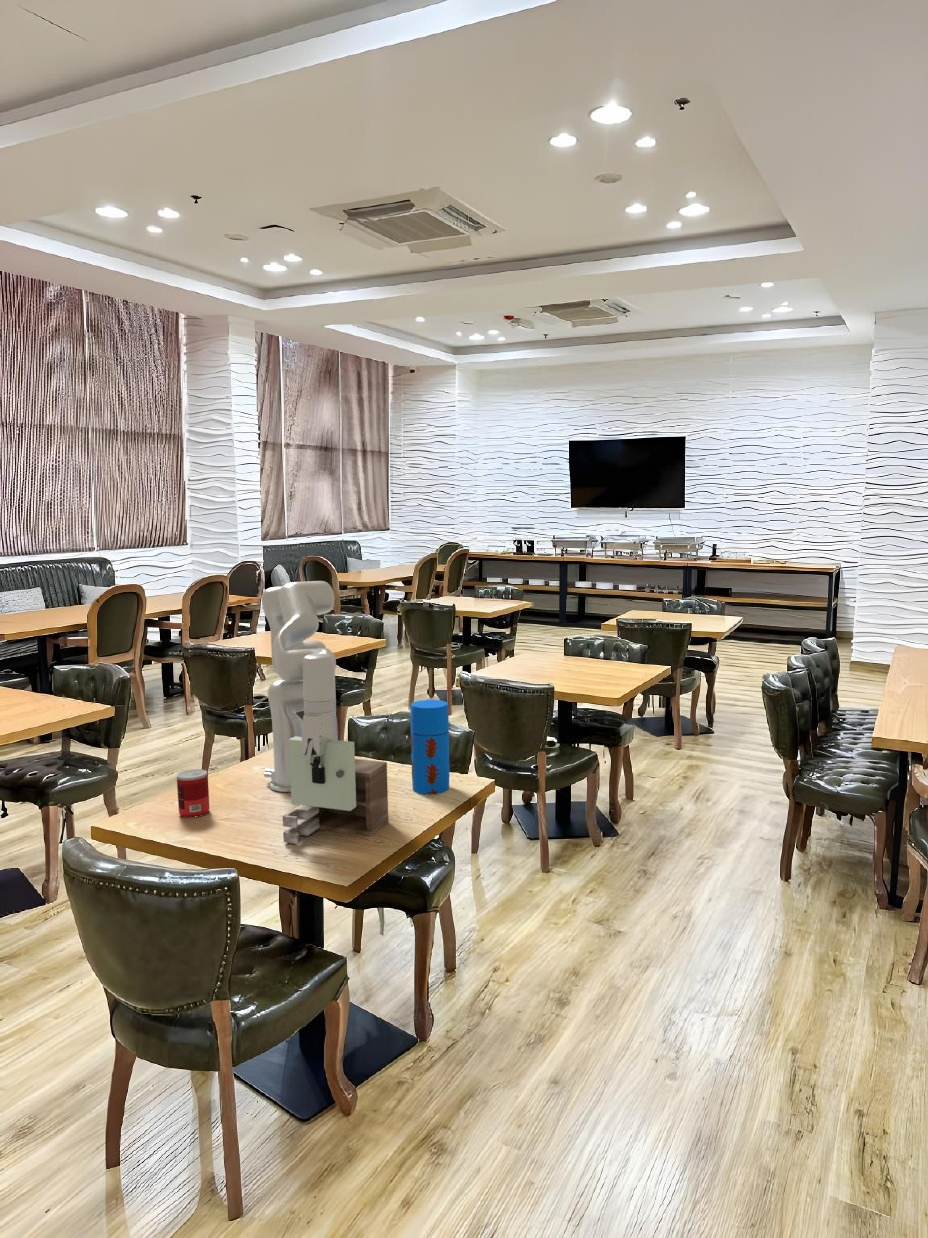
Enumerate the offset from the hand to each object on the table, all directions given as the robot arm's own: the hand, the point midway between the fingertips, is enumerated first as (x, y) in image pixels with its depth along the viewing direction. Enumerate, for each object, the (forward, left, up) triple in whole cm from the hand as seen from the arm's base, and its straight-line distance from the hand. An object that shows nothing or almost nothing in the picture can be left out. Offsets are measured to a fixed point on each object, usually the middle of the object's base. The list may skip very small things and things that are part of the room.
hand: (322, 780), depth 208 cm
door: (0, 0, -6) cm, 6 cm away
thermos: (+9, +46, -16) cm, 50 cm away
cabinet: (-1, +7, -16) cm, 18 cm away
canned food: (-44, +8, -16) cm, 47 cm away
